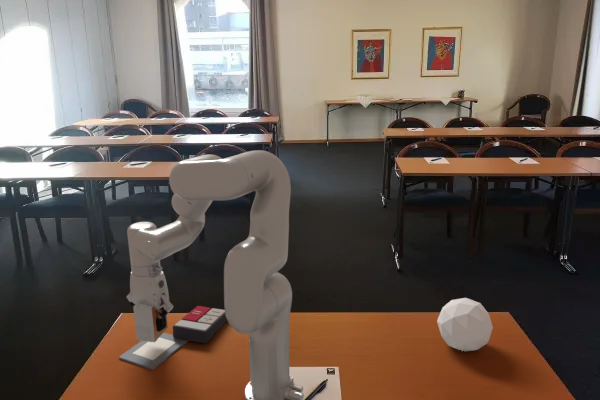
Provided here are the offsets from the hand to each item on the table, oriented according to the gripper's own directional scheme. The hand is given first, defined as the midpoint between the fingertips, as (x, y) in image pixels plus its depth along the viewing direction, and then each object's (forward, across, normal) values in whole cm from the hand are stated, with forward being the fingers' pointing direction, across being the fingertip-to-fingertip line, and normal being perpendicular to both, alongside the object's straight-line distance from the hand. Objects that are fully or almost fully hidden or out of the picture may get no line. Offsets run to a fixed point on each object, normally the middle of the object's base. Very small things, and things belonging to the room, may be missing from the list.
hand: (151, 325), depth 134 cm
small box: (+3, 0, 0) cm, 3 cm away
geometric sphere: (+8, -79, -38) cm, 88 cm away
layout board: (+8, 0, 0) cm, 8 cm away
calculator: (+8, -6, -14) cm, 17 cm away
